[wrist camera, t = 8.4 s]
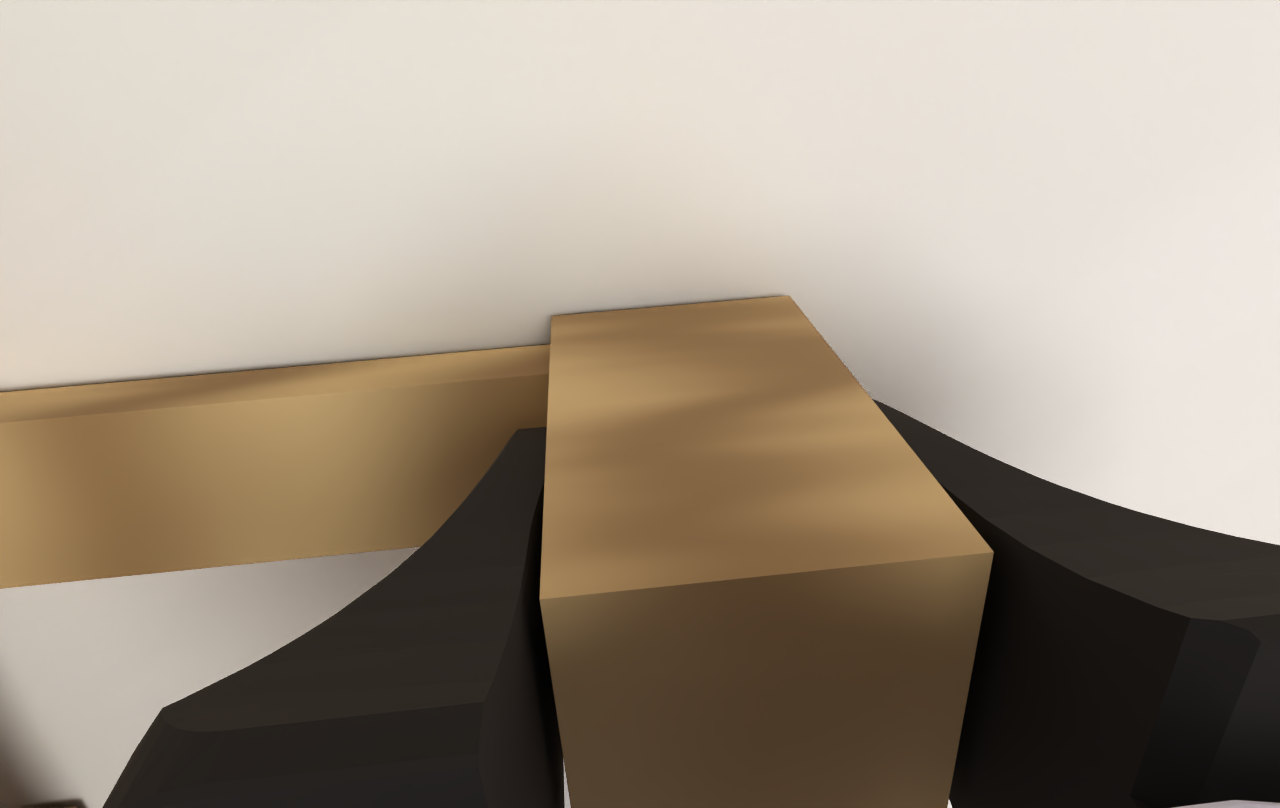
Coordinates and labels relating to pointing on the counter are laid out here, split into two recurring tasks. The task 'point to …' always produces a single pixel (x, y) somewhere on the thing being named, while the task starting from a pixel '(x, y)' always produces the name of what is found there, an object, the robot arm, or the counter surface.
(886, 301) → the counter surface
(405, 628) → the robot arm
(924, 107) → the counter surface
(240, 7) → the counter surface
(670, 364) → the tool
